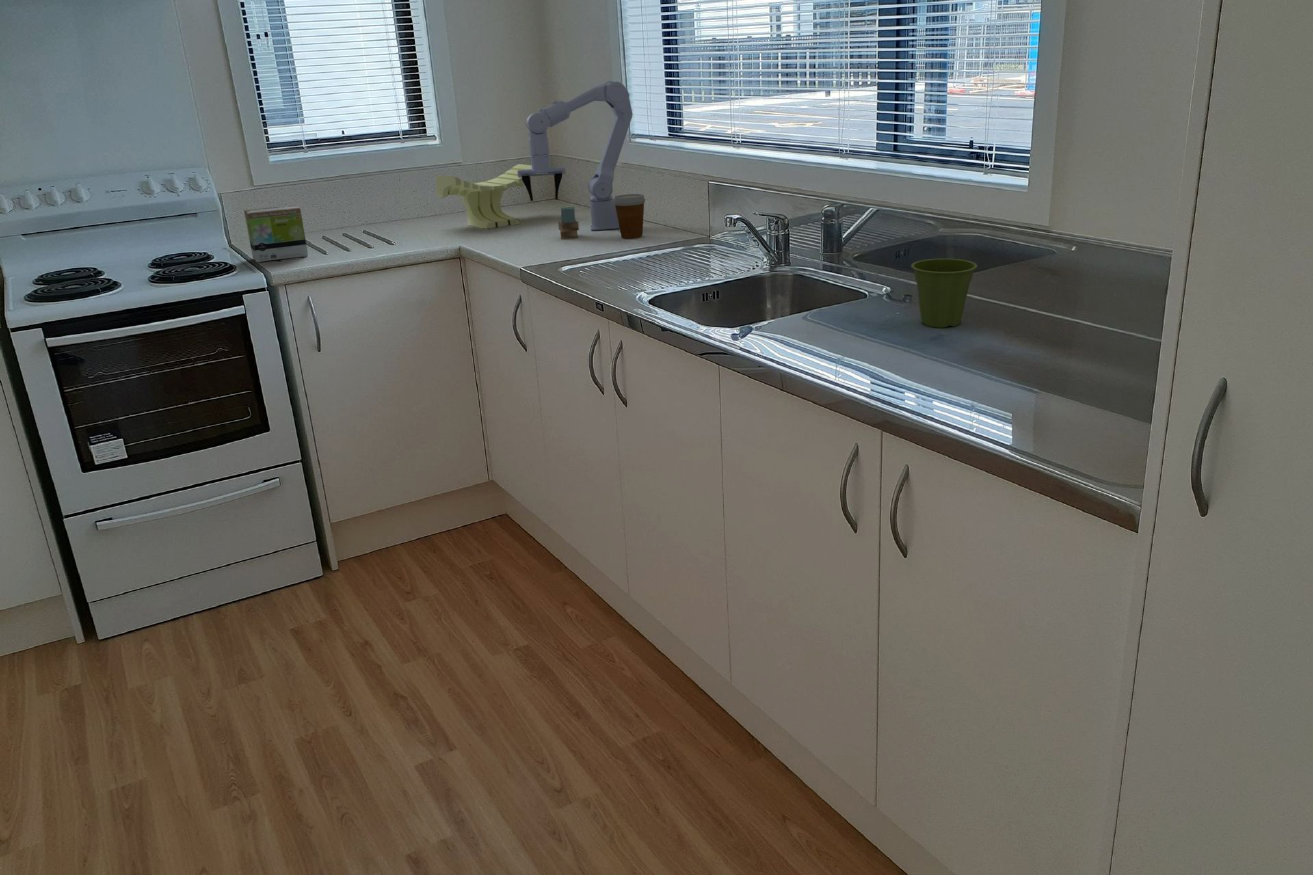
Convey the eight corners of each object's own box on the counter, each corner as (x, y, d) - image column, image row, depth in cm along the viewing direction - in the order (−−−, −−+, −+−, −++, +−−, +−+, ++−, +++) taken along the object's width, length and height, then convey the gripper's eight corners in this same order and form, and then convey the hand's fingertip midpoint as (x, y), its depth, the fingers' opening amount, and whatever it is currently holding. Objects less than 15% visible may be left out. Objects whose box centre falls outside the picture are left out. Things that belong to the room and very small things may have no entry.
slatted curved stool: (520, 215, 357) (514, 163, 350) (542, 219, 344) (537, 166, 338) (441, 228, 341) (434, 174, 335) (462, 233, 329) (454, 176, 322)
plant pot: (911, 332, 188) (913, 272, 184) (907, 316, 199) (909, 259, 195) (977, 331, 186) (981, 270, 182) (970, 315, 197) (973, 257, 193)
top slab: (574, 228, 311) (573, 219, 310) (578, 230, 306) (578, 221, 306) (558, 229, 309) (558, 221, 309) (562, 232, 305) (562, 223, 304)
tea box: (257, 263, 299) (246, 213, 294) (252, 258, 308) (242, 209, 302) (309, 256, 305) (300, 206, 300) (303, 251, 314) (294, 203, 308)
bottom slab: (577, 236, 311) (576, 228, 310) (577, 239, 306) (576, 230, 306) (561, 237, 311) (560, 229, 310) (561, 240, 306) (560, 232, 305)
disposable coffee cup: (610, 240, 300) (607, 198, 295) (623, 234, 308) (620, 193, 303) (640, 240, 296) (637, 198, 292) (652, 234, 304) (650, 193, 300)
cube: (575, 220, 309) (574, 206, 307) (575, 222, 305) (574, 208, 304) (562, 221, 309) (560, 207, 307) (562, 223, 305) (560, 209, 303)
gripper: (515, 157, 304) (520, 203, 309) (563, 154, 305) (567, 199, 310) (516, 155, 311) (521, 200, 315) (563, 151, 311) (567, 196, 316)
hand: (544, 199), depth 313 cm, fingers open, 7 cm apart
